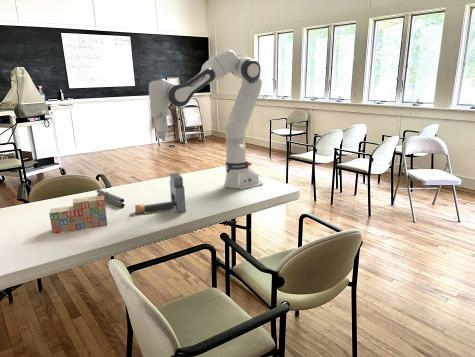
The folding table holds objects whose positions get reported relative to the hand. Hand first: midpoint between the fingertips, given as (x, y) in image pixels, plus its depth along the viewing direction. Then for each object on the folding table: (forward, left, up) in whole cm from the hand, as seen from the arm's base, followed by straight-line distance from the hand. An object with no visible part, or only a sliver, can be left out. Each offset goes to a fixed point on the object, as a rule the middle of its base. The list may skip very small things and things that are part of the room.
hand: (162, 139), depth 180 cm
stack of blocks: (+41, +25, -31) cm, 57 cm away
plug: (+9, +18, -31) cm, 37 cm away
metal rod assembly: (+28, -5, -31) cm, 42 cm away
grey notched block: (-3, +18, -31) cm, 36 cm away
